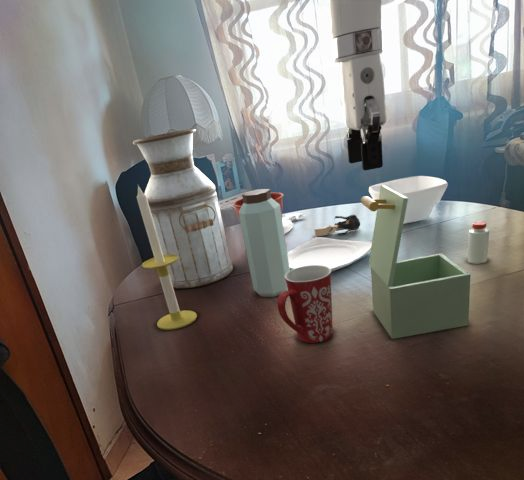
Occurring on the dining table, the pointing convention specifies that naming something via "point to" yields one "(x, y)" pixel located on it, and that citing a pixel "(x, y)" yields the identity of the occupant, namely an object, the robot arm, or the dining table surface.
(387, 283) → the lid
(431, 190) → the bowl
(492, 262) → the dining table surface
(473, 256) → the spice bottle
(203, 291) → the dining table surface
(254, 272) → the water bottle
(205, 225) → the milk can
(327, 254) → the plate
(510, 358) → the dining table surface
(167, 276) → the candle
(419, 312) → the chest
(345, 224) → the toy figure
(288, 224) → the spray bottle
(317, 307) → the mug
